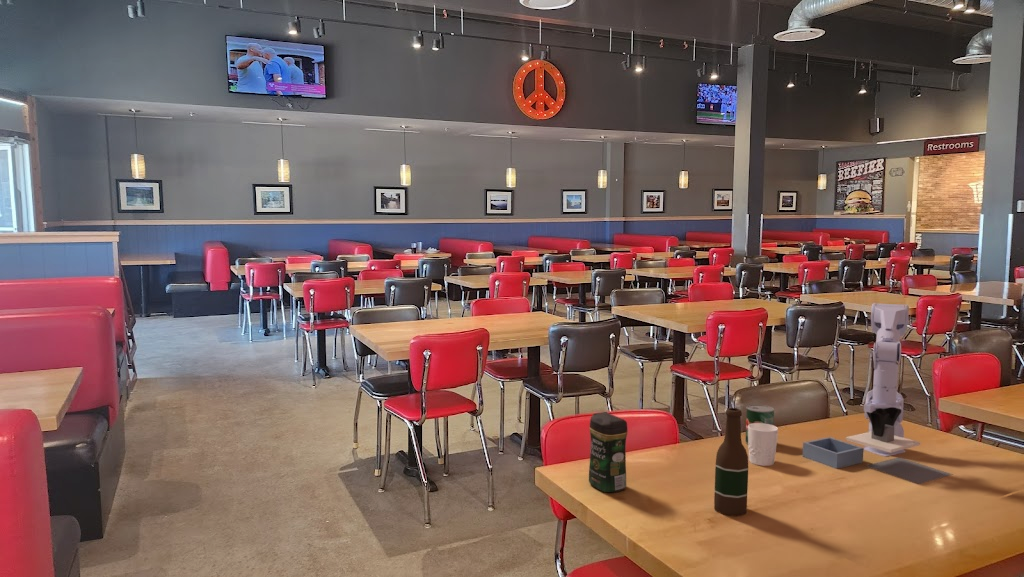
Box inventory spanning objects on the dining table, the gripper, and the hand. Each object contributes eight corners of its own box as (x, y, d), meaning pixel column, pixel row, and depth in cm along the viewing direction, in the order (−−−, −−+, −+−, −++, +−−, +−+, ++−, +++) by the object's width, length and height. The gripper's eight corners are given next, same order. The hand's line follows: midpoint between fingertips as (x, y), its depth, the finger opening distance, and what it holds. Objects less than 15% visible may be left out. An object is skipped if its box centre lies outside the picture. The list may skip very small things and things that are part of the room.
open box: (828, 452, 205) (829, 436, 205) (862, 463, 196) (863, 447, 195) (802, 457, 200) (803, 442, 200) (836, 470, 190) (837, 454, 190)
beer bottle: (707, 503, 168) (711, 405, 165) (739, 502, 168) (743, 404, 166) (720, 517, 160) (724, 414, 157) (753, 516, 160) (757, 413, 158)
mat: (898, 458, 200) (898, 457, 200) (952, 475, 187) (952, 474, 187) (864, 467, 193) (864, 465, 193) (918, 485, 180) (918, 484, 180)
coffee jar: (583, 482, 180) (584, 412, 179) (608, 477, 184) (610, 408, 182) (605, 496, 172) (606, 421, 170) (631, 490, 176) (633, 417, 174)
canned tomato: (775, 442, 214) (777, 407, 213) (768, 449, 207) (770, 413, 206) (749, 437, 218) (750, 403, 217) (741, 444, 212) (743, 408, 211)
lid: (874, 433, 201) (875, 416, 200) (920, 445, 189) (920, 427, 189) (845, 440, 194) (846, 423, 194) (890, 452, 183) (891, 434, 183)
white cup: (772, 457, 200) (773, 423, 199) (779, 467, 192) (781, 431, 191) (743, 456, 201) (745, 422, 200) (750, 466, 193) (751, 430, 192)
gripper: (882, 392, 183) (879, 442, 185) (915, 385, 190) (912, 434, 192) (857, 386, 189) (855, 435, 191) (890, 380, 196) (887, 428, 198)
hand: (882, 434), depth 192 cm, fingers closed on lid, 3 cm apart
